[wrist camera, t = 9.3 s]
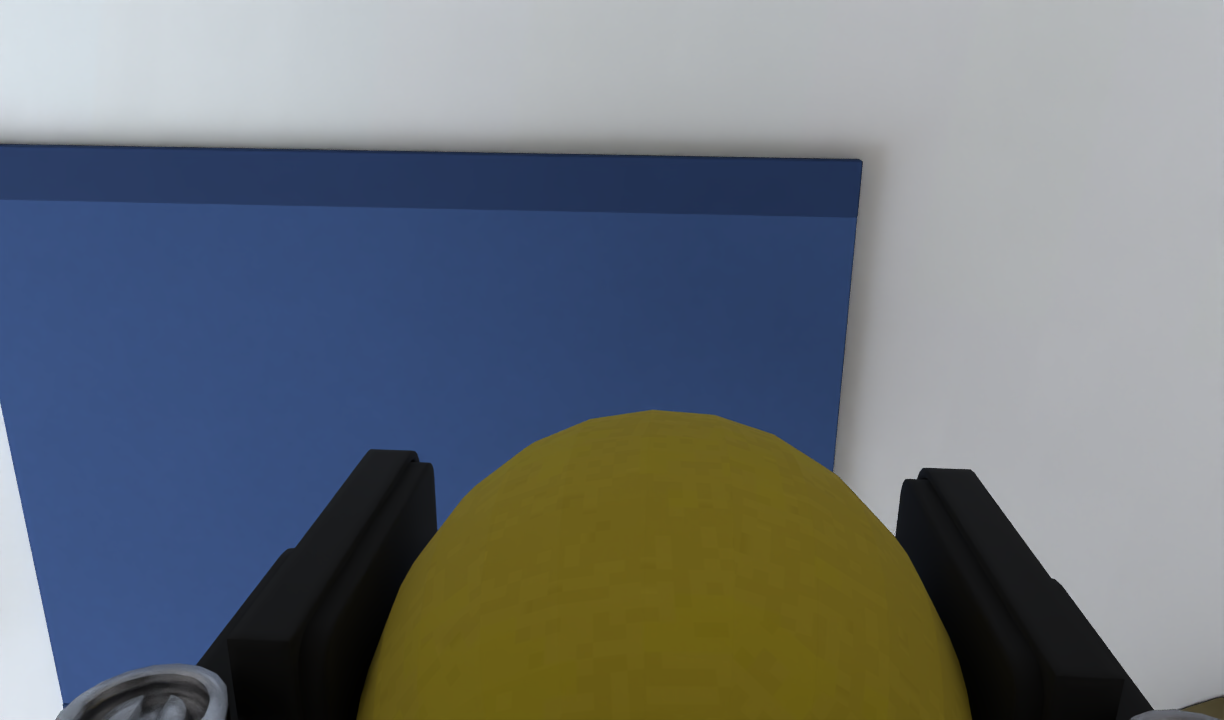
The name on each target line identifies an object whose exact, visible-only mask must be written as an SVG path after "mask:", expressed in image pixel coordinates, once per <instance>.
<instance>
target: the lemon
mask: <svg viewBox="0 0 1224 720" xmlns="http://www.w3.org/2000/svg"><path fill="white" fill-rule="evenodd" d="M356 720H972V716H971V711H970V705H969V699H968V694H967V689H966V686H965V682H964V678H963V674H962V671H961V667H960V663H959V660H958V658H957V655H956V653H955V650H954V647H953V645H952V642H951V640H950V637H949V635H948V633H947V631H946V629H945V627H944V625H943V623H942V621H941V619H940V617H939V615H938V613H937V611H936V609H935V607H934V605H933V603H932V601H931V599H930V597H929V595H928V593H927V591H926V589H925V587H924V585H923V583H922V581H921V579H920V577H919V575H918V573H917V571H916V569H915V568H914V566H913V564H912V562H911V560H910V558H909V556H908V555H907V553H906V552H905V550H904V549H903V547H902V546H901V545H900V543H899V542H898V541H897V539H896V538H895V536H894V535H893V534H892V533H891V532H890V531H889V530H888V529H887V528H886V527H885V526H884V524H883V523H882V522H881V521H880V520H879V519H878V518H877V517H876V516H875V515H874V514H873V513H872V512H871V511H870V509H869V508H868V507H867V506H866V505H865V504H864V503H863V502H862V501H861V500H860V499H859V498H858V497H857V495H856V494H855V493H854V492H853V491H852V490H851V489H850V488H849V487H848V486H847V485H846V484H845V483H844V482H843V481H842V480H841V479H840V478H839V477H838V476H837V475H836V474H834V473H833V472H831V471H830V470H829V469H827V468H826V467H824V466H823V465H821V464H819V463H818V462H816V461H815V460H813V459H812V458H810V457H808V456H807V455H805V454H804V453H802V452H801V451H799V450H797V449H796V448H794V447H793V446H791V445H790V444H788V443H786V442H785V441H783V440H782V439H780V438H779V437H777V436H775V435H774V434H771V433H768V432H765V431H762V430H759V429H756V428H753V427H750V426H747V425H744V424H741V423H738V422H735V421H731V420H728V419H725V418H722V417H719V416H716V415H710V414H698V413H686V412H674V411H662V410H648V411H641V412H634V413H627V414H621V415H614V416H607V417H600V418H594V419H589V420H587V421H584V422H582V423H579V424H577V425H575V426H572V427H570V428H567V429H565V430H562V431H560V432H558V433H555V434H553V435H550V436H548V437H545V438H543V439H540V440H538V441H536V442H534V443H532V444H531V445H529V446H528V447H526V448H524V449H523V450H522V451H521V452H519V453H518V454H517V455H515V456H514V457H513V458H511V459H510V460H509V461H507V462H506V463H505V464H503V465H502V466H501V467H499V468H498V469H497V470H495V471H494V472H493V473H491V474H490V475H489V476H488V477H486V478H485V479H484V480H482V481H481V482H480V483H478V484H477V485H476V486H475V487H474V488H473V489H472V490H471V491H470V492H469V493H468V494H467V495H466V496H465V497H464V498H463V499H462V500H461V501H460V503H459V504H458V505H457V506H456V508H455V509H454V510H453V512H452V513H451V514H450V516H449V517H448V518H447V519H446V521H445V522H444V523H443V525H442V526H441V527H440V529H439V530H438V531H437V532H436V534H435V535H434V536H433V538H432V539H431V540H430V542H429V543H428V544H427V545H426V547H425V548H424V549H423V551H422V552H421V554H420V555H419V556H418V558H417V559H416V560H415V562H414V563H413V564H412V566H411V568H410V570H409V572H408V573H407V575H406V577H405V579H404V581H403V582H402V584H401V586H400V589H399V591H398V594H397V596H396V599H395V601H394V604H393V606H392V609H391V611H390V614H389V617H388V619H387V622H386V625H385V627H384V630H383V632H382V635H381V638H380V640H379V643H378V646H377V648H376V651H375V653H374V656H373V659H372V661H371V664H370V667H369V669H368V673H367V676H366V680H365V683H364V687H363V690H362V694H361V697H360V702H359V708H358V713H357V718H356Z"/></svg>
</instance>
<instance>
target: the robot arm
mask: <svg viewBox="0 0 1224 720" xmlns="http://www.w3.org/2000/svg"><path fill="white" fill-rule="evenodd" d="M436 532H437V514H436V496H435V477H434V469H433V465H432V464H431V463H428V462H420V461H419V457H418V454H417V453H416V451H412V450H382V449H370V450H369V451H368V452H367V453H366V454H365V455H364V457H363V458H362V459H361V461H360V462H359V463H358V465H357V466H356V467H355V469H354V470H353V471H352V473H351V474H350V475H349V477H348V478H347V479H346V481H345V482H344V483H343V485H342V486H341V487H340V489H339V490H338V491H337V493H336V494H335V495H334V497H333V498H332V499H331V501H330V502H329V503H328V505H327V506H326V507H325V509H324V510H323V511H322V513H321V514H320V515H319V517H318V518H317V519H316V521H315V522H314V523H313V525H312V526H311V527H310V529H309V530H308V531H307V532H306V534H305V535H304V536H303V538H302V539H301V540H300V542H299V543H298V544H297V546H296V547H295V548H289V549H287V550H286V551H285V552H283V553H282V554H281V555H280V557H279V558H278V559H277V560H276V562H275V563H274V564H273V566H272V567H271V568H270V569H269V571H268V572H267V573H266V575H265V576H264V577H263V579H262V580H261V581H260V582H259V584H258V585H257V586H256V588H255V589H254V590H253V592H252V593H251V594H250V595H249V597H248V598H247V599H246V601H245V602H244V603H243V605H242V606H241V607H240V608H239V610H238V611H237V612H236V614H235V615H234V616H233V617H232V619H231V620H230V621H229V623H228V624H227V625H226V627H225V628H224V629H223V630H222V632H221V633H220V634H219V636H218V637H217V638H216V640H215V641H214V642H213V643H212V645H211V646H210V647H209V649H208V650H207V651H206V653H205V654H204V655H203V656H202V658H201V659H200V660H199V662H198V663H197V664H196V665H188V664H181V663H176V664H161V665H152V666H148V667H144V668H139V669H135V670H131V671H127V672H125V673H122V674H120V675H117V676H115V677H112V678H110V679H107V680H105V681H102V682H101V683H99V684H97V685H96V686H94V687H92V688H91V689H89V690H87V691H86V692H84V693H82V694H81V695H79V696H78V697H77V698H75V699H74V700H73V701H72V702H71V703H70V704H69V705H68V706H67V707H65V708H64V709H63V710H62V711H61V712H60V713H59V715H58V716H57V718H56V720H356V718H357V713H358V708H359V702H360V697H361V694H362V690H363V687H364V683H365V680H366V676H367V673H368V669H369V667H370V664H371V661H372V659H373V656H374V653H375V651H376V648H377V646H378V643H379V640H380V638H381V635H382V632H383V630H384V627H385V625H386V622H387V619H388V617H389V614H390V611H391V609H392V606H393V604H394V601H395V599H396V596H397V594H398V591H399V589H400V586H401V584H402V582H403V581H404V579H405V577H406V575H407V573H408V572H409V570H410V568H411V566H412V564H413V563H414V562H415V560H416V559H417V558H418V556H419V555H420V554H421V552H422V551H423V549H424V548H425V547H426V545H427V544H428V543H429V542H430V540H431V539H432V538H433V536H434V535H435V534H436ZM895 538H896V539H897V541H898V542H899V543H900V545H901V546H902V547H903V549H904V550H905V552H906V553H907V555H908V556H909V558H910V560H911V562H912V564H913V566H914V568H915V569H916V571H917V573H918V575H919V577H920V579H921V581H922V583H923V585H924V587H925V589H926V591H927V593H928V595H929V597H930V599H931V601H932V603H933V605H934V607H935V609H936V611H937V613H938V615H939V617H940V619H941V621H942V623H943V625H944V627H945V629H946V631H947V633H948V635H949V637H950V640H951V642H952V645H953V647H954V650H955V653H956V655H957V658H958V660H959V663H960V667H961V671H962V674H963V678H964V682H965V686H966V689H967V694H968V699H969V705H970V711H971V716H972V720H1221V719H1218V718H1214V717H1211V716H1208V715H1205V714H1201V713H1195V712H1188V711H1182V710H1175V709H1173V710H1154V709H1153V708H1152V707H1151V705H1150V704H1149V703H1148V701H1147V700H1146V699H1145V697H1144V696H1143V694H1142V693H1141V692H1140V690H1139V689H1138V688H1137V686H1136V685H1135V684H1134V682H1133V681H1132V680H1131V678H1130V677H1129V676H1128V674H1127V673H1126V672H1125V670H1124V669H1123V667H1122V666H1121V665H1120V663H1119V662H1118V661H1117V659H1116V658H1115V657H1114V655H1113V654H1112V653H1111V651H1110V650H1109V649H1108V647H1107V646H1106V644H1105V643H1104V642H1103V640H1102V639H1101V638H1100V636H1099V635H1098V634H1097V632H1096V631H1095V630H1094V628H1093V627H1092V626H1091V624H1090V623H1089V622H1088V620H1087V619H1086V617H1085V616H1084V615H1083V613H1082V612H1081V611H1080V609H1079V608H1078V607H1077V605H1076V604H1075V603H1074V601H1073V600H1072V599H1071V597H1070V596H1069V595H1068V593H1067V592H1066V590H1065V589H1064V588H1063V586H1062V585H1061V584H1059V583H1058V582H1057V581H1056V580H1055V579H1052V578H1051V577H1050V576H1049V574H1048V573H1047V572H1046V570H1045V569H1044V568H1043V566H1042V565H1041V564H1040V562H1039V561H1038V559H1037V558H1036V557H1035V555H1034V554H1033V553H1032V551H1031V550H1030V548H1029V547H1028V546H1027V544H1026V543H1025V542H1024V540H1023V539H1022V537H1021V536H1020V535H1019V533H1018V532H1017V531H1016V529H1015V528H1014V527H1013V525H1012V524H1011V522H1010V521H1009V520H1008V518H1007V517H1006V516H1005V514H1004V513H1003V511H1002V510H1001V509H1000V507H999V506H998V505H997V503H996V502H995V501H994V499H993V498H992V496H991V495H990V494H989V492H988V491H987V490H986V488H985V487H984V485H983V484H982V483H981V481H980V480H979V479H978V477H977V476H976V474H975V473H974V472H973V471H972V470H970V469H942V468H922V470H921V471H920V472H919V475H918V478H917V479H905V481H904V482H903V485H902V489H901V495H900V503H899V511H898V520H897V528H896V536H895Z"/></svg>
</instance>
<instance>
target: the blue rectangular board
mask: <svg viewBox="0 0 1224 720" xmlns="http://www.w3.org/2000/svg"><path fill="white" fill-rule="evenodd" d="M862 164H863V162H862V161H861V160H859V159H821V158H765V157H708V156H651V155H595V154H538V153H481V152H425V151H368V150H311V149H255V148H198V147H141V146H85V145H28V144H0V403H1V408H2V413H3V417H4V422H5V427H6V432H7V437H8V441H9V446H10V451H11V456H12V460H13V465H14V470H15V475H16V480H17V484H18V489H19V494H20V499H21V503H22V508H23V513H24V518H25V523H26V527H27V532H28V537H29V542H30V546H31V551H32V556H33V561H34V566H35V570H36V575H37V580H38V585H39V589H40V594H41V599H42V604H43V609H44V613H45V618H46V623H47V628H48V632H49V637H50V642H51V647H52V652H53V656H54V661H55V666H56V671H57V675H58V680H59V685H60V690H61V695H62V699H63V709H64V708H65V707H67V706H68V705H69V704H70V703H71V702H72V701H73V700H74V699H75V698H77V697H78V696H79V695H81V694H82V693H84V692H86V691H87V690H89V689H91V688H92V687H94V686H96V685H97V684H99V683H101V682H102V681H105V680H107V679H110V678H112V677H115V676H117V675H120V674H122V673H125V672H127V671H131V670H135V669H139V668H144V667H148V666H152V665H161V664H176V663H181V664H188V665H196V664H197V663H198V662H199V660H200V659H201V658H202V656H203V655H204V654H205V653H206V651H207V650H208V649H209V647H210V646H211V645H212V643H213V642H214V641H215V640H216V638H217V637H218V636H219V634H220V633H221V632H222V630H223V629H224V628H225V627H226V625H227V624H228V623H229V621H230V620H231V619H232V617H233V616H234V615H235V614H236V612H237V611H238V610H239V608H240V607H241V606H242V605H243V603H244V602H245V601H246V599H247V598H248V597H249V595H250V594H251V593H252V592H253V590H254V589H255V588H256V586H257V585H258V584H259V582H260V581H261V580H262V579H263V577H264V576H265V575H266V573H267V572H268V571H269V569H270V568H271V567H272V566H273V564H274V563H275V562H276V560H277V559H278V558H279V557H280V555H281V554H282V553H283V552H285V551H286V550H287V549H289V548H295V547H296V546H297V544H298V543H299V542H300V540H301V539H302V538H303V536H304V535H305V534H306V532H307V531H308V530H309V529H310V527H311V526H312V525H313V523H314V522H315V521H316V519H317V518H318V517H319V515H320V514H321V513H322V511H323V510H324V509H325V507H326V506H327V505H328V503H329V502H330V501H331V499H332V498H333V497H334V495H335V494H336V493H337V491H338V490H339V489H340V487H341V486H342V485H343V483H344V482H345V481H346V479H347V478H348V477H349V475H350V474H351V473H352V471H353V470H354V469H355V467H356V466H357V465H358V463H359V462H360V461H361V459H362V458H363V457H364V455H365V454H366V453H367V452H368V451H369V450H370V449H382V450H412V451H416V453H417V454H418V457H419V461H420V462H428V463H431V464H432V465H433V469H434V477H435V496H436V514H437V531H438V530H439V529H440V527H441V526H442V525H443V523H444V522H445V521H446V519H447V518H448V517H449V516H450V514H451V513H452V512H453V510H454V509H455V508H456V506H457V505H458V504H459V503H460V501H461V500H462V499H463V498H464V497H465V496H466V495H467V494H468V493H469V492H470V491H471V490H472V489H473V488H474V487H475V486H476V485H477V484H478V483H480V482H481V481H482V480H484V479H485V478H486V477H488V476H489V475H490V474H491V473H493V472H494V471H495V470H497V469H498V468H499V467H501V466H502V465H503V464H505V463H506V462H507V461H509V460H510V459H511V458H513V457H514V456H515V455H517V454H518V453H519V452H521V451H522V450H523V449H524V448H526V447H528V446H529V445H531V444H532V443H534V442H536V441H538V440H540V439H543V438H545V437H548V436H550V435H553V434H555V433H558V432H560V431H562V430H565V429H567V428H570V427H572V426H575V425H577V424H579V423H582V422H584V421H587V420H589V419H594V418H600V417H607V416H614V415H621V414H627V413H634V412H641V411H648V410H662V411H674V412H686V413H698V414H710V415H716V416H719V417H722V418H725V419H728V420H731V421H735V422H738V423H741V424H744V425H747V426H750V427H753V428H756V429H759V430H762V431H765V432H768V433H771V434H774V435H775V436H777V437H779V438H780V439H782V440H783V441H785V442H786V443H788V444H790V445H791V446H793V447H794V448H796V449H797V450H799V451H801V452H802V453H804V454H805V455H807V456H808V457H810V458H812V459H813V460H815V461H816V462H818V463H819V464H821V465H823V466H824V467H826V468H827V469H829V470H830V471H831V472H833V467H834V457H835V446H836V435H837V425H838V414H839V404H840V393H841V383H842V372H843V361H844V351H845V340H846V330H847V319H848V309H849V298H850V288H851V277H852V266H853V256H854V245H855V235H856V224H857V216H858V207H859V196H860V186H861V175H862Z"/></svg>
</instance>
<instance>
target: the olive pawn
mask: <svg viewBox="0 0 1224 720" xmlns="http://www.w3.org/2000/svg"><path fill="white" fill-rule="evenodd" d="M1182 711H1188V712H1195V713H1201V714H1205V715H1208V716H1211V717H1214V718H1218V719H1221V720H1224V698H1216V699H1213V700H1210V701H1207V702H1203V703H1200V704H1197V705H1194V706H1191V707H1188V708H1185V709H1182Z"/></svg>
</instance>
